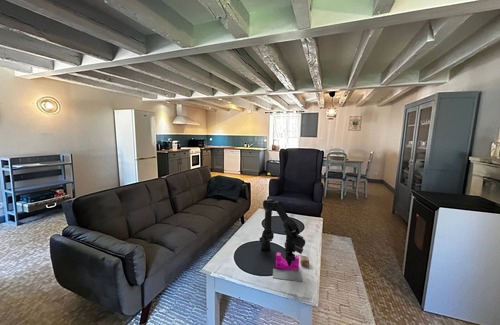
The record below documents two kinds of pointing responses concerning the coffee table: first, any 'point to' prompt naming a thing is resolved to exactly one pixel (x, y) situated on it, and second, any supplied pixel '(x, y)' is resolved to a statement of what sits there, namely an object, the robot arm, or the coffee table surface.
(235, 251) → the coffee table surface
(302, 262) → the walnut block
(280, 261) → the toy block
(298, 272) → the pad
